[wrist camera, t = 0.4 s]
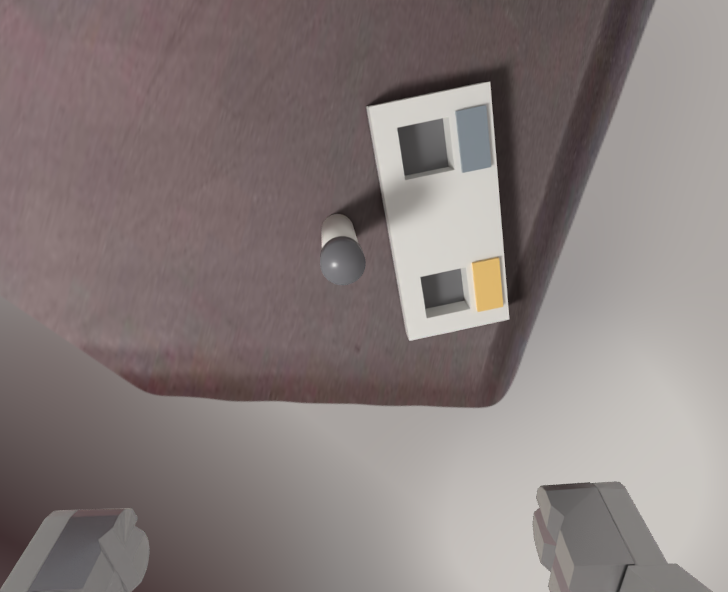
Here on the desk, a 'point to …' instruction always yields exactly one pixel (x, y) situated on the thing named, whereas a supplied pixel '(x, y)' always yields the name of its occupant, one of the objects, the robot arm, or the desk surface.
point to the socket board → (442, 208)
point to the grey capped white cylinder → (340, 251)
